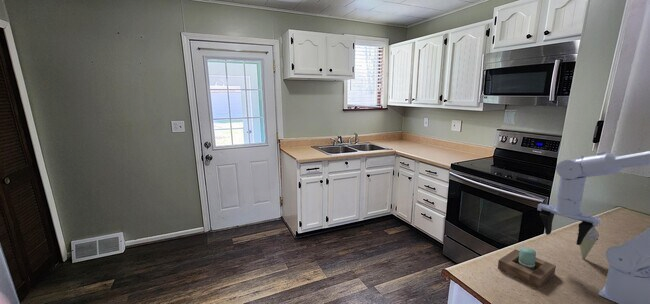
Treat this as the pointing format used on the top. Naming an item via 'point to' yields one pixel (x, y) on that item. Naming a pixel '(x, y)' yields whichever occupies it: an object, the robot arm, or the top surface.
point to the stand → (536, 277)
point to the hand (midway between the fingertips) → (563, 238)
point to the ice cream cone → (588, 241)
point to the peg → (527, 258)
